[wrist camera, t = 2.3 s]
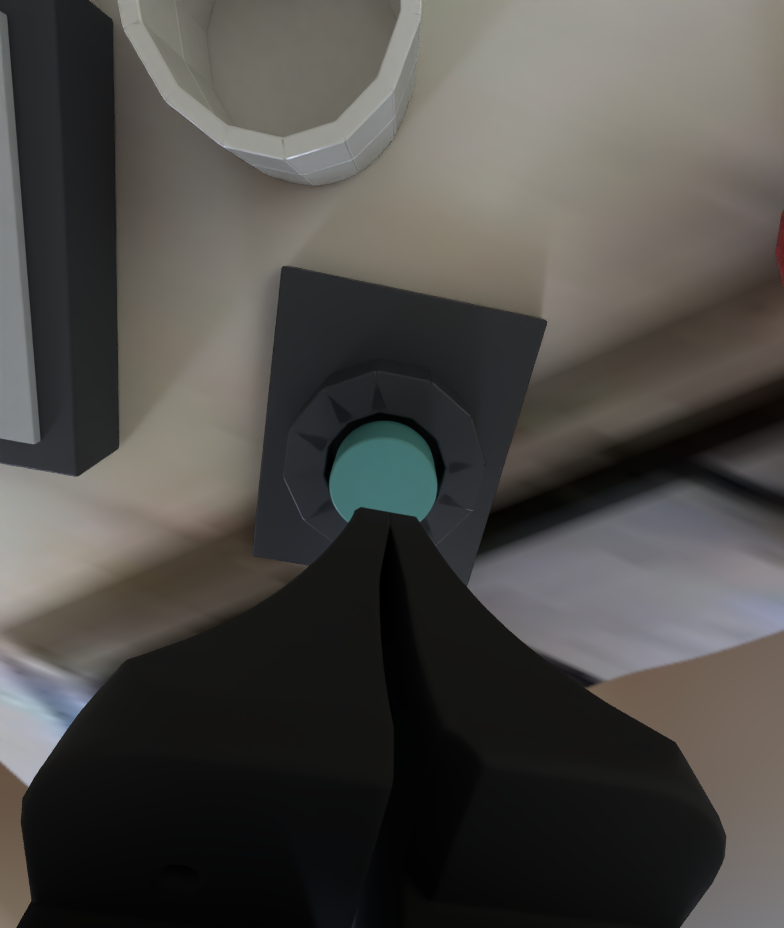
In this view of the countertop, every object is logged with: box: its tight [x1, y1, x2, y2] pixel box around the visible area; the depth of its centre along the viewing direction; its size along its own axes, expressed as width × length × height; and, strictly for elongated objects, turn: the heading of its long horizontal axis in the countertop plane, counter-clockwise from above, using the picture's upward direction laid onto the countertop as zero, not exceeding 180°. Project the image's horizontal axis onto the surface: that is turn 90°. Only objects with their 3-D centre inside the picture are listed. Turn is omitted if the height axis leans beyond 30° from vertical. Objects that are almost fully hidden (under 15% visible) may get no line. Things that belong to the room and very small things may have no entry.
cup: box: [117, 0, 422, 186], centre depth 11 cm, size 6×6×4 cm
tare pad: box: [252, 266, 547, 587], centre depth 16 cm, size 10×8×2 cm
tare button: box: [329, 421, 437, 522], centre depth 15 cm, size 3×3×2 cm
